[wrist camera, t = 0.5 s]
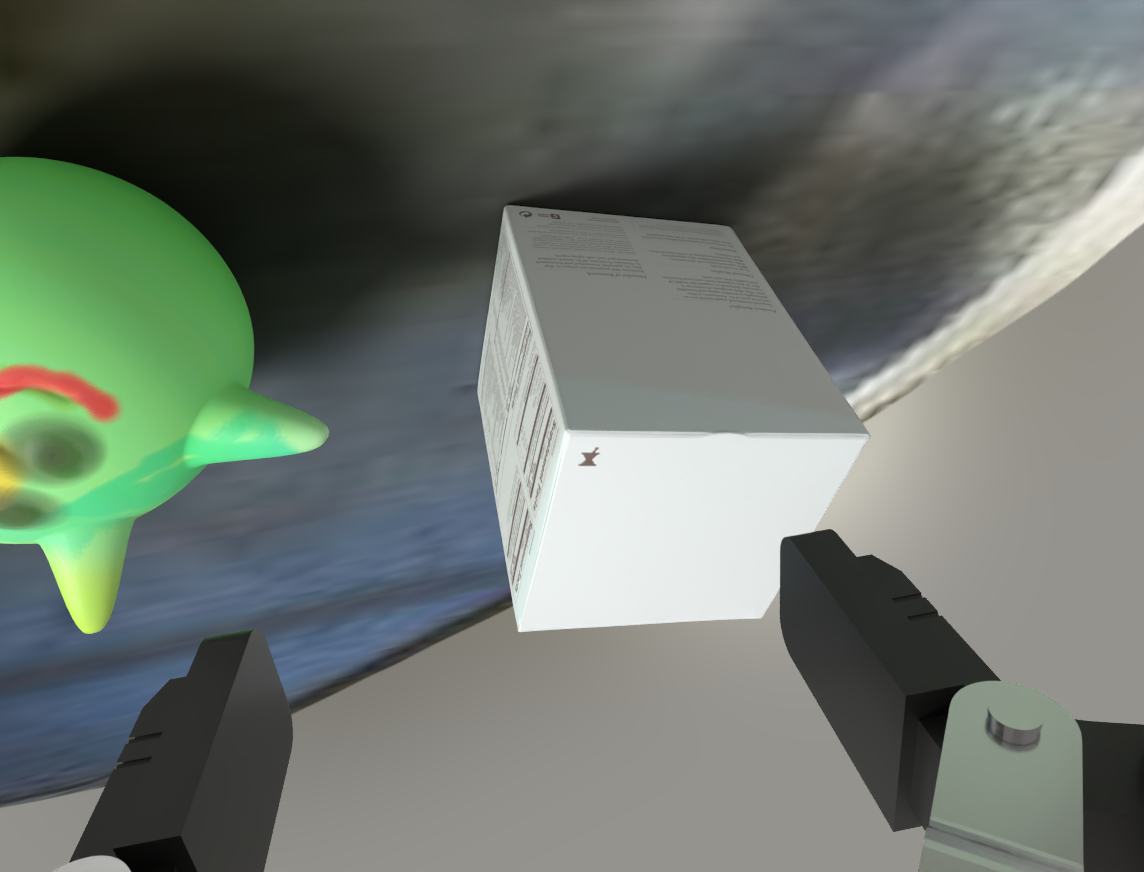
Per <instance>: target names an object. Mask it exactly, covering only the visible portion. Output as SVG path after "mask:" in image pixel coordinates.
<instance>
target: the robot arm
mask: <svg viewBox="0 0 1144 872" xmlns="http://www.w3.org/2000/svg"><path fill="white" fill-rule="evenodd" d="M780 622H781V629H782V634H783V638H784V641H785V644H786V647H787V650H788V652H789V654H790V656H791V658H792V660H793V662H794V663H795V665H796V667H797V668H798V670H799V672H800V673H801V675H802V677H803V679H804V680H805V682H806V684H807V685H808V687H809V689H810V691H811V692H812V694H813V696H814V697H815V699H816V700H817V702H818V704H819V706H820V707H821V709H822V711H823V713H824V714H825V716H826V718H827V719H828V721H829V722H830V724H831V726H832V728H833V730H834V731H835V733H836V735H837V736H838V738H839V740H840V742H841V743H842V745H843V747H844V748H845V750H846V752H847V754H848V755H849V757H850V758H851V760H852V762H853V763H854V765H855V767H856V769H857V771H858V772H859V774H860V775H861V777H862V779H863V781H864V782H865V784H866V786H867V787H868V789H869V791H870V793H871V794H872V796H873V798H874V799H875V801H876V803H877V804H878V806H879V808H880V810H881V811H882V813H883V815H884V817H885V818H886V820H887V822H888V823H889V825H890V827H891V828H892V830H893V832H895V831H900V830H905V829H910V828H914V827H919V826H923V828H924V830H925V831H926V832H925V837H924V842H923V848H922V853H921V859H920V865H919V870H918V872H1144V725H1139V724H1123V723H1108V722H1093V721H1083V720H1076V719H1074V718H1073V716H1072V715H1071V714H1070V713H1069V712H1068V711H1067V710H1066V709H1065V708H1064V707H1063V706H1061V705H1060V704H1059V703H1058V702H1056V701H1055V700H1053V699H1052V698H1050V697H1049V696H1047V695H1045V694H1043V693H1041V692H1039V691H1037V690H1034V689H1032V688H1030V687H1026V686H1023V685H1019V684H1016V683H1011V682H1004V681H1001V680H1000V679H999V678H998V677H997V676H996V675H995V674H994V673H993V671H991V669H990V668H989V667H988V666H987V665H986V664H985V663H984V662H983V660H982V659H981V658H980V657H979V656H978V655H977V654H976V653H975V652H974V651H973V649H972V648H971V647H970V646H969V645H968V644H967V643H966V642H965V641H964V640H963V638H962V637H961V636H960V635H959V634H958V633H957V632H956V631H955V630H954V629H953V627H952V626H951V625H950V624H949V623H948V622H947V621H946V620H945V619H944V618H943V616H939V615H938V612H937V610H936V609H935V608H934V607H933V605H932V604H931V603H930V602H929V601H928V600H927V599H926V598H925V597H924V598H922V596H921V592H920V591H919V590H918V589H917V588H916V587H915V586H914V585H913V584H912V582H911V581H910V580H909V579H908V578H907V577H906V576H905V575H904V574H903V572H902V571H900V570H898V569H897V568H895V567H893V566H891V565H889V564H887V563H886V562H884V561H882V560H880V559H878V558H876V557H875V556H873V555H866V556H862V557H856V556H855V555H854V553H852V551H851V550H850V549H849V548H848V546H847V545H846V544H845V543H844V542H843V541H842V539H841V538H840V537H839V536H838V535H837V533H836V532H834V531H833V530H831V529H828V530H822V531H816V532H811V533H805V534H799V535H794V536H788V537H784V538H783V539H782V541H781V545H780ZM292 740H293V727H292V718H291V712H290V707H289V704H288V701H287V698H286V695H285V693H284V690H283V687H282V684H281V681H280V678H279V675H278V673H277V670H276V667H275V664H274V661H273V658H272V655H271V652H270V650H269V647H268V644H267V641H266V639H265V637H264V635H263V633H262V632H261V631H260V630H258V629H254V630H249V631H243V632H237V633H232V634H226V635H220V636H215V637H209V638H205V639H204V640H203V641H202V643H201V644H200V646H199V649H198V651H197V653H196V656H195V658H194V660H193V663H192V665H191V667H190V670H189V672H188V674H187V677H181V678H176V679H170V680H169V681H168V682H167V683H166V684H165V685H164V686H163V687H162V688H161V689H160V691H159V692H158V693H157V694H156V695H155V696H154V697H153V698H152V699H151V700H150V701H149V702H148V703H147V704H146V705H145V706H144V707H143V709H142V711H141V713H140V715H139V717H138V719H137V721H136V723H135V726H134V728H133V730H132V732H131V734H130V736H129V744H125V746H124V749H123V751H122V753H121V755H120V757H119V759H118V761H117V769H114V770H113V772H112V774H111V776H110V778H109V780H108V782H107V784H106V786H105V788H104V791H103V793H102V795H101V797H100V799H99V801H98V803H97V805H96V807H95V809H94V812H93V814H92V816H91V818H90V820H89V822H88V824H87V826H86V828H85V831H84V832H83V834H82V837H81V839H80V841H79V843H78V845H77V847H76V849H75V851H74V853H73V855H72V858H71V860H70V862H69V863H68V864H66V865H64V866H61V867H59V868H57V869H55V870H54V871H52V872H264V868H265V863H266V859H267V855H268V850H269V845H270V841H271V837H272V833H273V828H274V824H275V820H276V815H277V811H278V807H279V802H280V798H281V793H282V789H283V785H284V780H285V776H286V771H287V767H288V763H289V759H290V754H291V749H292Z"/></svg>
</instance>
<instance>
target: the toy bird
mask: <svg viewBox="0 0 1144 872" xmlns="http://www.w3.org/2000/svg"><path fill="white" fill-rule="evenodd" d="M253 362H254V336H253V328H252V323H251V318H250V314H249V311H248V307H247V304H246V302H245V299H244V296H243V294H242V292H241V289H240V287H239V285H238V283H237V281H236V279H235V277H234V276H233V274H232V272H231V271H230V269H229V267H228V266H227V264H226V263H225V261H224V260H223V259H222V257H221V256H220V254H219V253H218V252H217V251H216V249H215V248H214V247H213V246H212V245H211V243H210V242H209V241H208V240H207V239H206V238H205V237H204V236H203V235H202V234H201V233H200V232H199V231H198V230H197V229H196V228H195V227H194V226H193V225H192V224H191V223H190V222H189V221H188V220H187V219H185V218H184V217H183V216H182V215H181V214H179V213H178V212H177V211H175V210H174V209H173V208H171V207H170V206H169V205H167V204H166V203H164V202H163V201H161V200H160V199H158V198H157V197H155V196H153V195H152V194H150V193H148V192H146V191H145V190H143V189H141V188H139V187H137V186H135V185H133V184H131V183H129V182H126V181H124V180H122V179H120V178H117V177H115V176H112V175H109V174H107V173H104V172H101V171H98V170H95V169H92V168H88V167H85V166H81V165H77V164H73V163H68V162H63V161H57V160H51V159H43V158H32V157H0V543H7V544H32V543H38V544H39V545H40V546H41V547H42V549H43V551H44V552H45V554H46V557H47V559H48V561H49V563H50V566H51V568H52V571H53V573H54V576H55V578H56V581H57V583H58V586H59V588H60V591H61V594H62V596H63V598H64V601H65V603H66V606H67V608H68V610H69V612H70V614H71V616H72V618H73V620H74V622H75V623H76V625H77V626H78V627H79V628H80V630H82V631H83V632H84V633H87V634H91V633H95V632H98V631H100V630H102V629H103V628H104V627H105V625H106V624H107V622H108V620H109V618H110V616H111V613H112V610H113V607H114V604H115V600H116V596H117V592H118V588H119V583H120V579H121V574H122V569H123V564H124V559H125V554H126V549H127V544H128V540H129V536H130V532H131V529H132V525H133V523H134V521H135V519H136V518H138V517H140V516H142V515H143V514H145V513H147V512H149V511H151V510H153V509H154V508H156V507H158V506H159V505H161V504H162V503H164V502H165V501H167V500H168V499H170V498H171V497H172V496H174V495H175V494H176V493H178V492H179V491H180V490H181V489H183V488H184V487H185V486H186V485H187V484H188V483H190V482H191V481H192V480H193V479H194V478H195V477H196V476H197V475H198V474H199V473H200V472H201V471H202V470H203V469H204V467H205V466H206V465H207V464H210V463H218V462H227V461H238V460H249V459H259V458H269V457H277V456H285V455H291V454H297V453H302V452H306V451H310V450H313V449H315V448H317V447H319V446H321V445H322V444H323V443H324V442H325V441H326V439H327V438H328V435H329V429H328V427H327V426H326V425H325V424H324V423H323V422H322V421H320V420H318V419H317V418H315V417H313V416H311V415H309V414H307V413H305V412H303V411H300V410H298V409H296V408H293V407H291V406H288V405H286V404H283V403H281V402H278V401H275V400H273V399H270V398H268V397H265V396H263V395H260V394H258V393H255V392H253V391H251V390H249V385H250V381H251V376H252V370H253Z"/></svg>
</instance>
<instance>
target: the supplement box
mask: <svg viewBox="0 0 1144 872" xmlns="http://www.w3.org/2000/svg"><path fill="white" fill-rule="evenodd" d="M477 391H478V397H479V403H480V409H481V415H482V421H483V427H484V433H485V439H486V445H487V451H488V457H489V463H490V469H491V475H492V481H493V487H494V493H495V499H496V505H497V511H498V517H499V523H500V529H501V535H502V541H503V547H504V553H505V559H506V565H507V571H508V577H509V582H510V588H511V594H512V600H513V606H514V612H515V616H516V621H517V626H518V631H519V632H526V631H538V630H553V629H570V628H585V627H605V626H620V625H621V626H622V625H637V624H654V623H670V622H687V621H706V620H725V619H752V618H762V617H763V615H764V613H765V612H766V610H767V608H768V607H769V605H770V604H771V602H772V600H773V599H774V597H775V595H776V593H777V592H778V590H779V589H780V545H781V541H782V539H783V538H784V537H788V536H794V535H799V534H805V533H811V532H813V531H814V529H815V528H816V526H817V524H818V523H819V521H820V519H821V518H822V516H823V514H824V512H825V511H826V509H827V508H828V506H829V504H830V503H831V501H832V499H833V498H834V496H835V494H836V493H837V491H838V489H839V488H840V486H841V484H842V483H843V480H844V479H845V478H846V476H847V474H848V473H849V471H850V469H851V467H852V466H853V464H854V462H855V460H856V459H857V457H858V455H859V454H860V452H861V451H862V449H863V448H864V446H865V444H866V443H867V441H868V440H869V439H870V437H871V436H870V434H869V432H868V431H867V429H866V428H865V426H864V425H863V423H862V422H861V420H860V419H859V418H858V416H857V415H856V413H855V412H854V410H853V409H852V408H851V406H850V405H849V403H848V402H847V400H846V399H845V397H844V396H843V394H842V393H841V392H840V390H839V389H838V387H837V386H836V384H835V383H834V381H833V380H832V378H831V377H830V375H829V374H828V372H827V371H826V369H825V368H824V366H823V365H822V363H821V362H820V360H819V359H818V357H817V356H816V354H815V353H814V351H813V350H812V348H811V347H810V345H809V344H808V343H807V341H806V340H805V338H804V337H803V335H802V334H801V332H800V331H799V329H798V328H797V326H796V325H795V323H794V322H793V320H792V319H791V317H790V316H789V314H788V313H787V311H786V310H785V308H784V307H783V305H782V304H781V302H780V301H779V299H778V298H777V296H776V295H775V293H774V292H773V290H772V289H771V287H770V286H769V284H768V283H767V281H766V280H765V278H764V277H763V275H762V274H761V272H760V271H759V269H758V268H757V266H756V265H755V263H754V262H753V260H752V259H751V257H750V256H749V254H748V253H747V251H746V250H745V248H744V246H743V245H742V243H741V242H740V240H739V239H738V237H737V235H736V234H735V232H734V230H733V229H732V228H730V227H728V226H723V225H714V224H704V223H693V222H683V221H672V220H660V219H651V218H639V217H629V216H619V215H607V214H598V213H587V212H576V211H565V210H554V209H544V208H534V207H523V206H512V205H508V206H505V207H504V212H503V218H502V225H501V232H500V238H499V245H498V252H497V258H496V265H495V272H494V279H493V285H492V292H491V299H490V305H489V312H488V318H487V325H486V332H485V338H484V345H483V352H482V359H481V366H480V373H479V381H478V390H477Z"/></svg>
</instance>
